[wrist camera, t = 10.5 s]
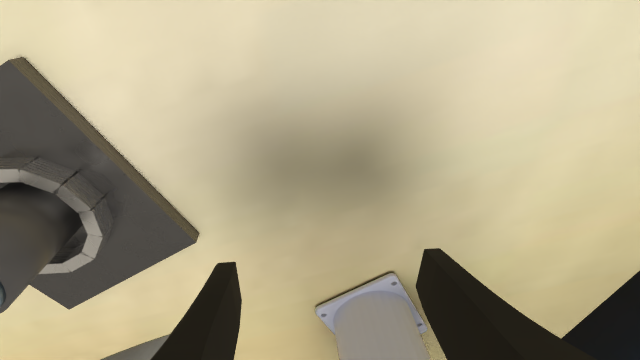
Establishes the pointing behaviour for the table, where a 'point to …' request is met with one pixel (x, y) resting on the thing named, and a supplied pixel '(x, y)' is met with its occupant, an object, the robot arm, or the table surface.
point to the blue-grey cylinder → (30, 235)
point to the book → (612, 326)
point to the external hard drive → (140, 351)
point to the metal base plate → (82, 190)
